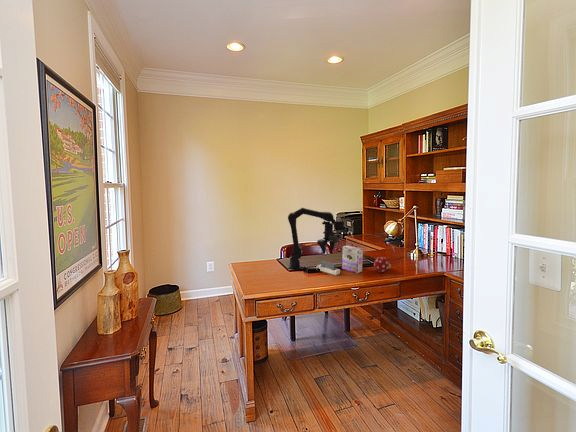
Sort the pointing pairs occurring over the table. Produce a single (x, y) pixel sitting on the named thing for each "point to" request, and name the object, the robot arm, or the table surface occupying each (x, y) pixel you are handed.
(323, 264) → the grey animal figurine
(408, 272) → the table surface
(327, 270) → the rail
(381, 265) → the decorative mushroom
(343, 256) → the candy box
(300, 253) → the robot arm
